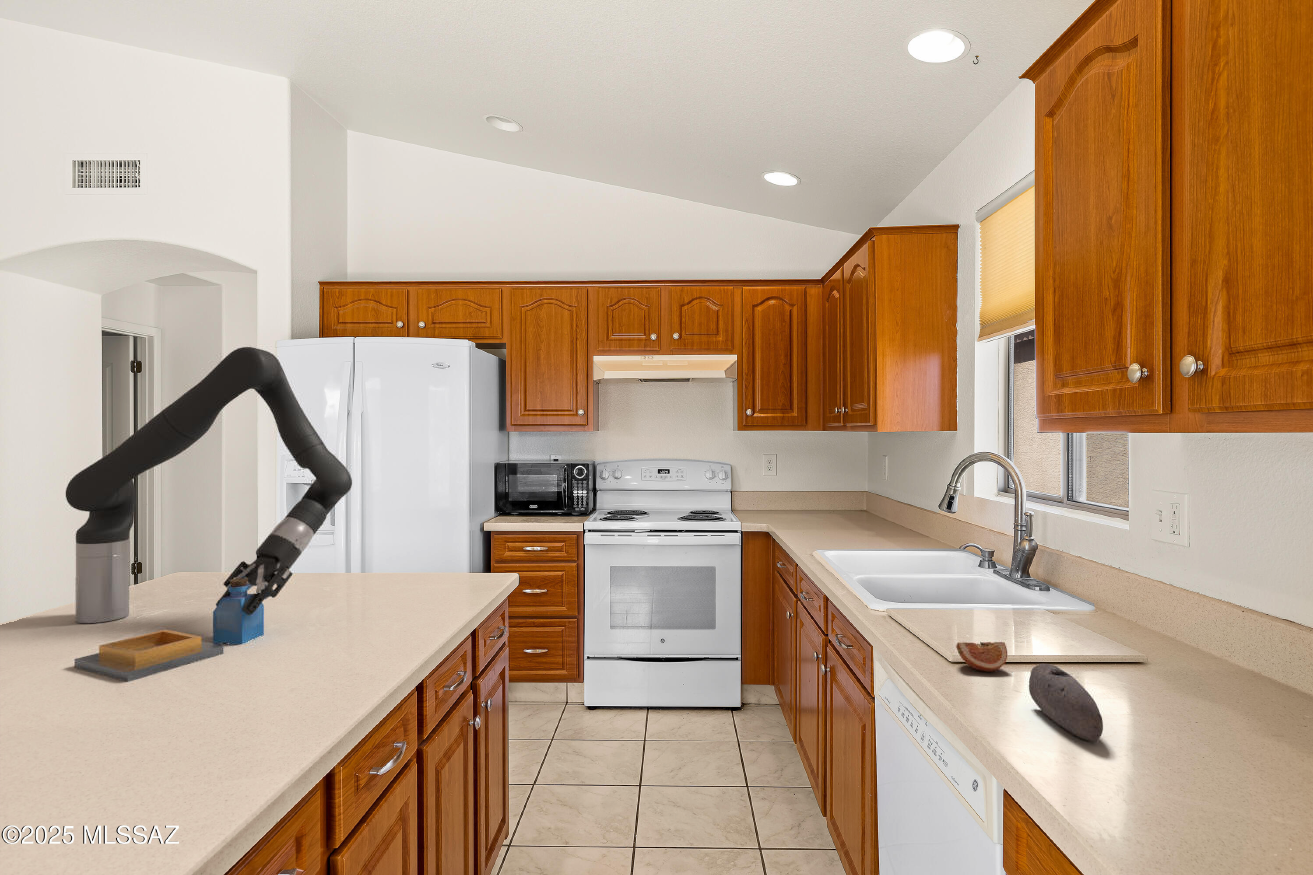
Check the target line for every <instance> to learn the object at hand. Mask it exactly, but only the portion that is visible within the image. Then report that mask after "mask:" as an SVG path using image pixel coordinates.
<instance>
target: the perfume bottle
mask: <svg viewBox="0 0 1313 875" xmlns="http://www.w3.org/2000/svg"><path fill="white" fill-rule="evenodd" d="M247 582H248V578H236V579H235V578H234V579H231V580H230V584H231V586H229V592H231V596H228V597H225V598H222V600H221V601H220V603H219V604H218V605H217V606H216V607H215V608H214V610H213V612H212V643H229V644H228V645H238V644H243V643H245V644H247V643H249V642H248V641H250V640H252V639H254V640H256V639H255V638H257V637H259V636H261V637H263V636H264V635H265V605H264V604H263V602H262V603H261V604H260V605H259V607H258V608H257V609H256V611H254V613H253V614H252V615H248V614H246V613H245V612H244V611H242V608H243V606H244V605H245V604H246V603H247V601H248V600H249V599H250V598H251V596H252V595H253V594H254V593H248V591H250V589H249V584H247ZM262 635H263V636H262ZM259 638H260V637H259ZM257 639H258V638H257ZM252 641H253V640H252ZM246 642H247V643H246ZM250 642H251V641H250ZM243 645H244V644H243Z"/></svg>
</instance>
